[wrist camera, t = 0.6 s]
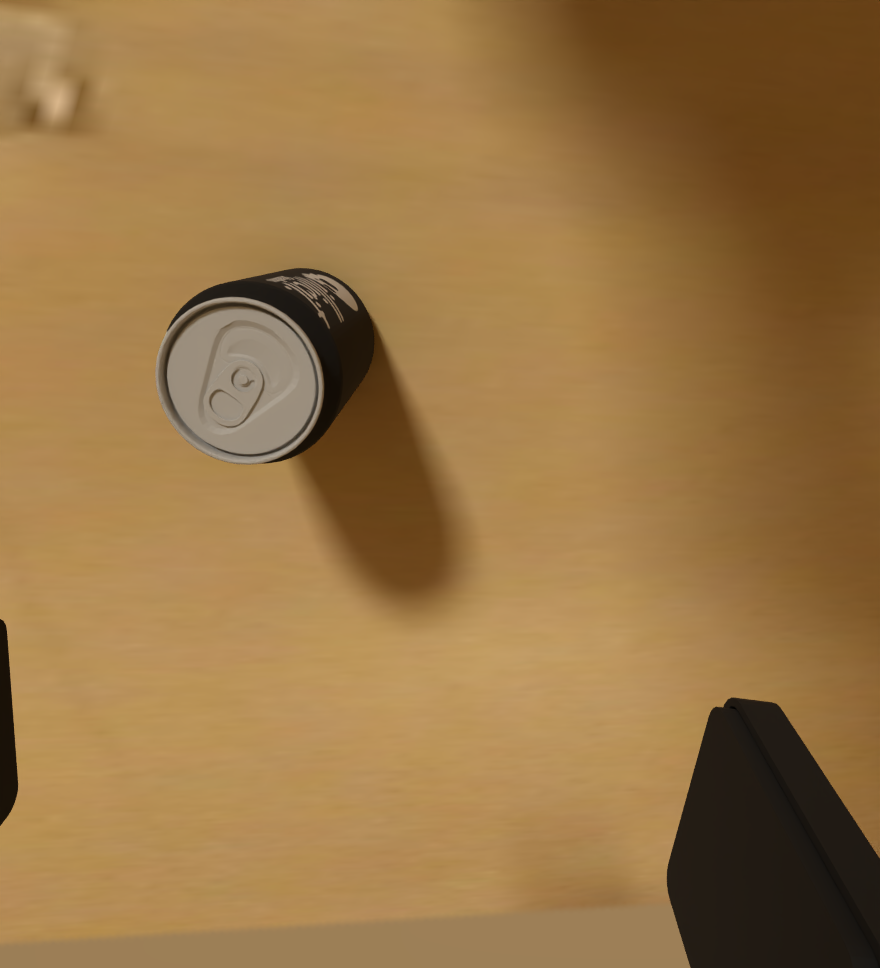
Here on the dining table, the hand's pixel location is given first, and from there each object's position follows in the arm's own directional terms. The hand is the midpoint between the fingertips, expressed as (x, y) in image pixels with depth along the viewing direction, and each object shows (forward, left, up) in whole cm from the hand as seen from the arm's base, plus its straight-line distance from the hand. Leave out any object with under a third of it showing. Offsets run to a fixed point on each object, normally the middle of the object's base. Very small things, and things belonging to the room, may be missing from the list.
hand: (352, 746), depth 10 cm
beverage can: (-1, -6, -29) cm, 30 cm away
